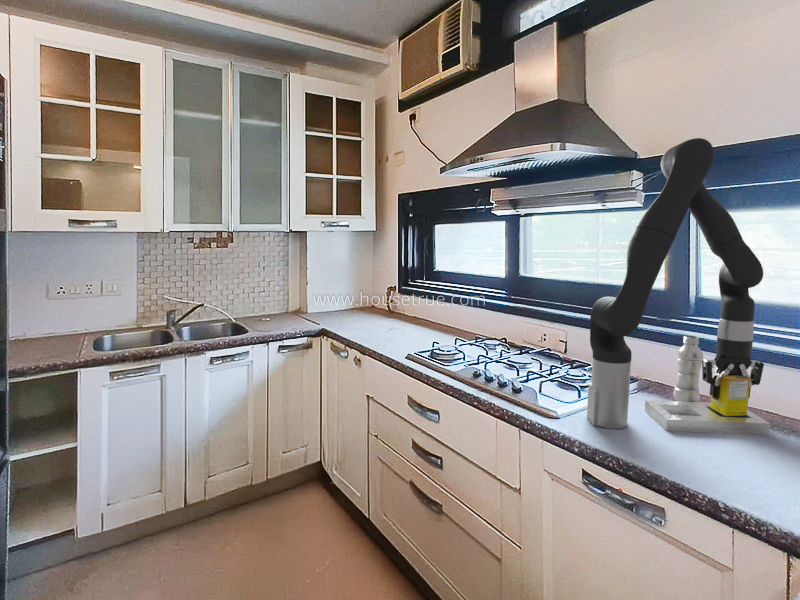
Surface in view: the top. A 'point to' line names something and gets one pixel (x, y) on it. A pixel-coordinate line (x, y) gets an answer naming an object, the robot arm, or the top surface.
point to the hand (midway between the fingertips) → (729, 399)
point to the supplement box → (732, 397)
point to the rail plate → (702, 418)
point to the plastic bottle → (688, 371)
